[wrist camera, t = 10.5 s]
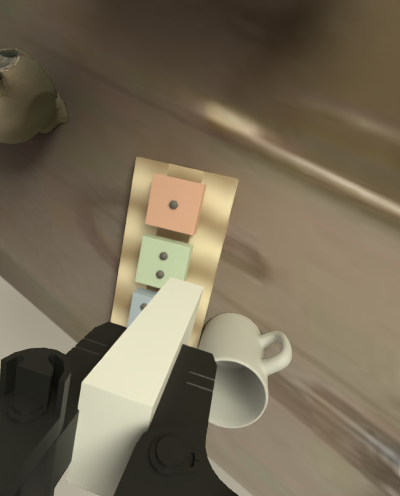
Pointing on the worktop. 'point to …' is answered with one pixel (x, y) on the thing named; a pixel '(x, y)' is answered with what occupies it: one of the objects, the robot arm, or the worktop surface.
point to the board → (174, 236)
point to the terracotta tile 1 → (175, 204)
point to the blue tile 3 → (139, 302)
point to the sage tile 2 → (162, 260)
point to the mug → (241, 368)
